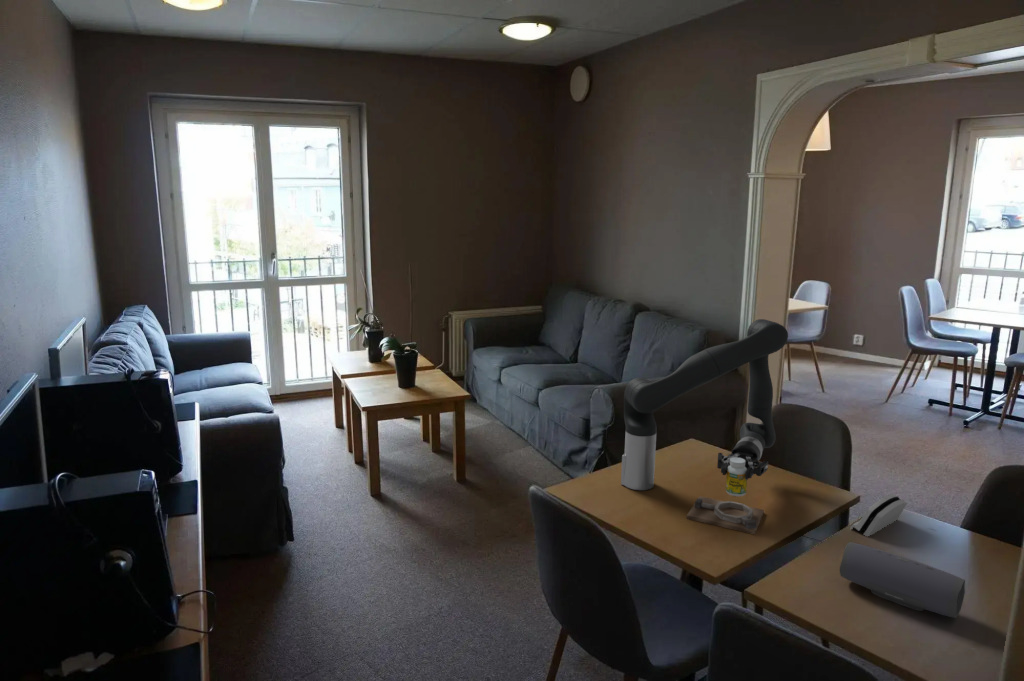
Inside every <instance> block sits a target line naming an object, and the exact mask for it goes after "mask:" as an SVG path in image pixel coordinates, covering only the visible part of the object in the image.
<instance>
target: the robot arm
mask: <svg viewBox="0 0 1024 681" xmlns="http://www.w3.org/2000/svg"><path fill="white" fill-rule="evenodd" d="M788 338H789V333H788V329H786V327H785V326H783V325H782V324H781V323H779V322H775V321H773V320H772V321H771V320H769V319H764V318H763V319H762V318H761V319H760V318H759V319H756V320H754V321H752V323H750V325H749V326H748V329H747V332H746V337H744V338H742V339H738V340H735V341H732V342H727V343H722V344H718V345H715V346H711V347H707V348H705V349H703V350H701V351H700V352H697V353H695V354H693V355H691V356H689V357H688V358H686V359H685V361H683V362H682V364H680V366H679V367H677V369H676V370H674V372H672V373H671V374H669V375H667V376H665V377H663V378H661V379H658V380H655V381H653V382H651V380H648V379H647V378H644V377H635V378H633V379H631V380H630V381H629V382H628V383H627V385H626V386H625V388H624V394H623V396H624V397H623V419H624V420H623V421H624V424H625V433H624V434H625V438H624V453H623V454H622V456H621V476H620V477H621V478H620V484H621V485H622V486H625V487H626V488H627V489H630V490H633V491H634V490H635V491H647V490H648V491H649V490H651V489H652V488H654V484H655V466H656V450H657V449H656V448H657V431H658V430H657V429H658V428H657V422H656V419H655V416H654V412H657V411H658V410H659V409H662V408H663V407H664V406H666V405H667V404H669V403H670V402H672V401H674V400H675V399H677V398H679V397H681V396H683V395H684V394H687V393H689V392H691V391H693V390H695V389H697V388H699V387H701V386H704V385H705V384H708V383H710V382H712V381H715V380H716V379H718V378H720V377H722V376H724V375H726V374H728V373H729V372H733V371H734V370H736V369H738V368H740V367H742V366H744V365H745V364H748V369H749V373H748V374H749V383H748V384H749V388H748V398H747V399H748V400H747V414H748V415H749V416H751V417H753V418H756V419H758V420H760V421H761V423H756V422H745V423H743V424H742V425H741V426H740V430H739V440H738V442H737V443H736V444H735V446H734V447H733V449H732V451H731V452H730V454H728V455H724V454H723V453H722V452H717V463H716V464H717V465H716V466H717V467H716V468H717V469H719V470H720V474H722V476H727V467H728V466H729V465H730V459H731V458H734V457H738V458H742V459H744V460H745V467H746V468H747V471H746V475H745V479H747V481H748V480H749V479H751V478H752V477H753V476H754V475H755V476H757V477H761V476H762V475H764V474H765V473H766V472H767V471H768V466H769V461H768V460H763V461H761V458H762V455H763V451H764V450H765V448H766V449H769V448H771V447H773V445H774V444H775V442H776V439H777V438H776V436H777V435H776V431H775V430H776V429H775V426H774V421H773V412H772V411H773V410H772V409H773V401H774V400H773V399H774V388H773V383H772V378H771V374H770V369H769V368H770V366H769V355H772V354H774V353H777V352H778V351H780V350H781V349H783V347H785V345H786V344H787V342H788Z"/></svg>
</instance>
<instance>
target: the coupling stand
mask: <svg viewBox="0 0 1024 681" xmlns="http://www.w3.org/2000/svg"><path fill="white" fill-rule="evenodd" d="M764 513H765V510H764V509H760V508H756V507H752V506H748V505H746V504H745V503H741V502H737V501H732V500H727V501H723V500H720V499H715V498H714V499H713V498H710V497H706V496H700V495H699V496H698V498H696V500H695V502H694V504H693V505H692V507H691V508H690V510H689V512H688V513H687V514H686V519H687V520H691V521H696V522H701V523H703V524H708V525H713V526H717V527H722V528H725V529H729V530H734V531H739V532H743V533H747V534H751V535H756V533H757V531H758V530H757V529H758V528H759V526H760V523H761V522H762V518H763V517H764Z"/></svg>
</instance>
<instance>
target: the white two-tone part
mask: <svg viewBox="0 0 1024 681" xmlns="http://www.w3.org/2000/svg"><path fill="white" fill-rule="evenodd" d="M906 506H907V502H906V501H905V500H904V499H900V497H899V496H898V495H897V494H894V493H893V494H888V495H886V496H884V497H882V498H880V499H879V500H877V501H875V503H873V504H872V505H871V506H870V507H868V508H867V510H866V511H865V513H864V514H863V516H862V517H861V519H860V520H858V521H856V522H855V523H853V524H852V525H851V526H850V528H851V529H852V530H854V529H855V530H857V531H858V532H862V533H863V534H862V535H863V536H864V535H865V536H864V537H866V536H869V537H871V536H872V535H875V532H876V533H877V531H878V532H879V531H881V530H883V529H884V527H885V528H886V527H888V526H890V525H891V524H893V523H895V522H897V521H898V520H899V518H900V517H901V515H902V513H903V512H904V509H905V508H906ZM896 520H897V521H896ZM894 521H895V522H894ZM889 524H890V525H889ZM887 525H888V526H887ZM854 527H855V528H854ZM853 528H854V529H853ZM882 528H883V529H882ZM870 535H871V536H870Z"/></svg>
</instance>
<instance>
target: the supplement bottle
mask: <svg viewBox="0 0 1024 681" xmlns="http://www.w3.org/2000/svg"><path fill="white" fill-rule="evenodd" d="M746 471H747V468H746V467H745V460H744V459H742V458H738V457H734V458H731V459H730V465H729V466H728V467H727V473H726V478H725V479H726V481H725V485H726V486H725V492H726V493H727V494H728V495H729V496H733V497H744V496H745V495H746V494H747V489H748V488H747V486H748V480H747V479H745V475H746Z"/></svg>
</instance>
